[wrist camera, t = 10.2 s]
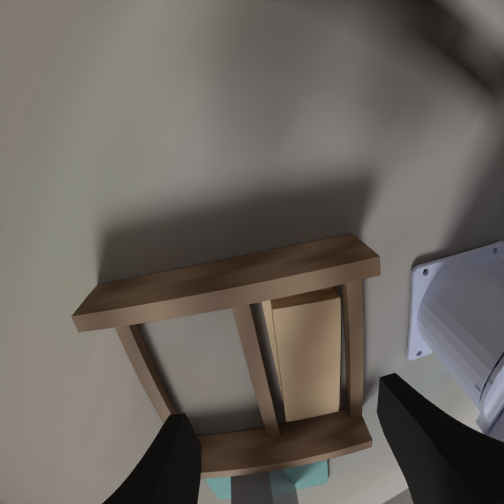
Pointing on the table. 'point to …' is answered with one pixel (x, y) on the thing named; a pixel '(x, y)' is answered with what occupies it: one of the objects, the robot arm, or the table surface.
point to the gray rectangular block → (263, 488)
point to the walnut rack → (249, 343)
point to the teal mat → (298, 475)
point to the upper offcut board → (308, 352)
